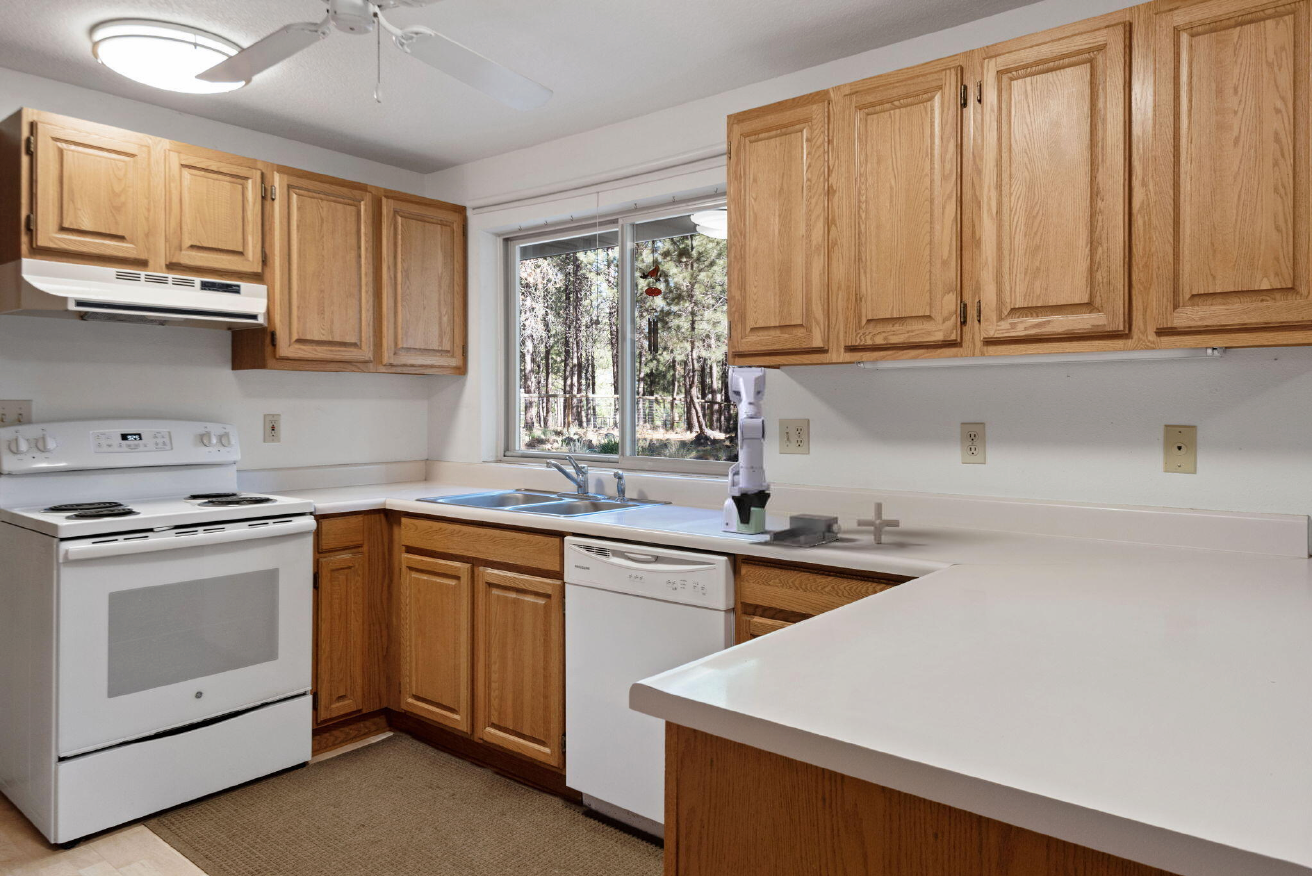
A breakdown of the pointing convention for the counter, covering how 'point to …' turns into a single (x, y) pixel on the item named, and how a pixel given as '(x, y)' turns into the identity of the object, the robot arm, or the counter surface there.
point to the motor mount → (807, 531)
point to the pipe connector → (877, 522)
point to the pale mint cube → (753, 522)
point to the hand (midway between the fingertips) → (750, 522)
